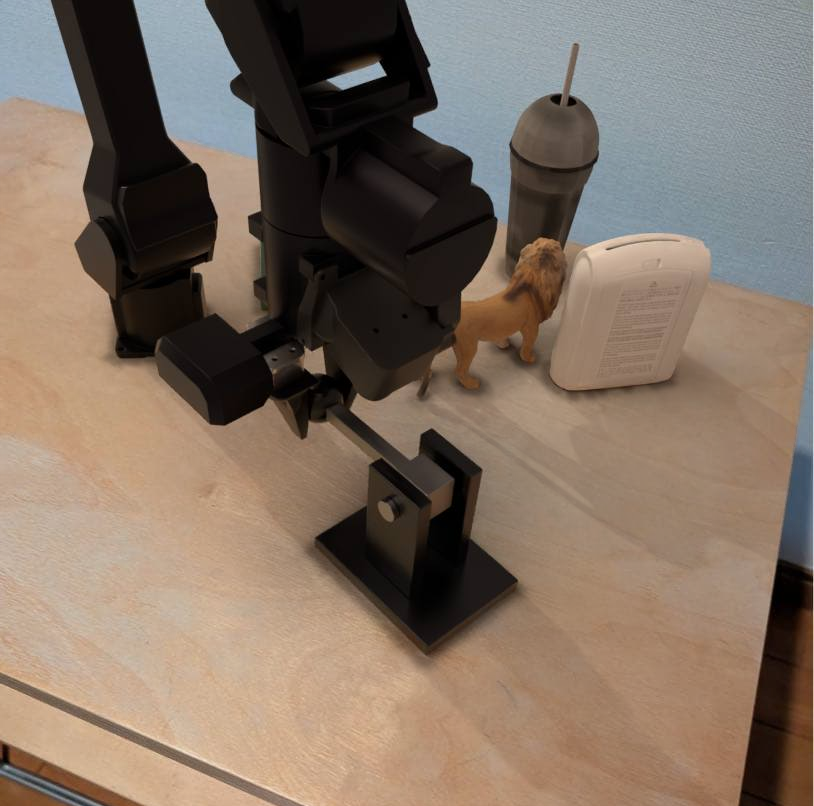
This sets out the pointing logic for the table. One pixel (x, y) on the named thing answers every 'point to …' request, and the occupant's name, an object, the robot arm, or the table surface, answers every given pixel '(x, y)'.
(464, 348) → the lion figurine
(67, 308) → the table surface
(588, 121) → the beverage cup
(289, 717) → the table surface
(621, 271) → the photo printer
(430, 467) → the lever
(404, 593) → the bracket
